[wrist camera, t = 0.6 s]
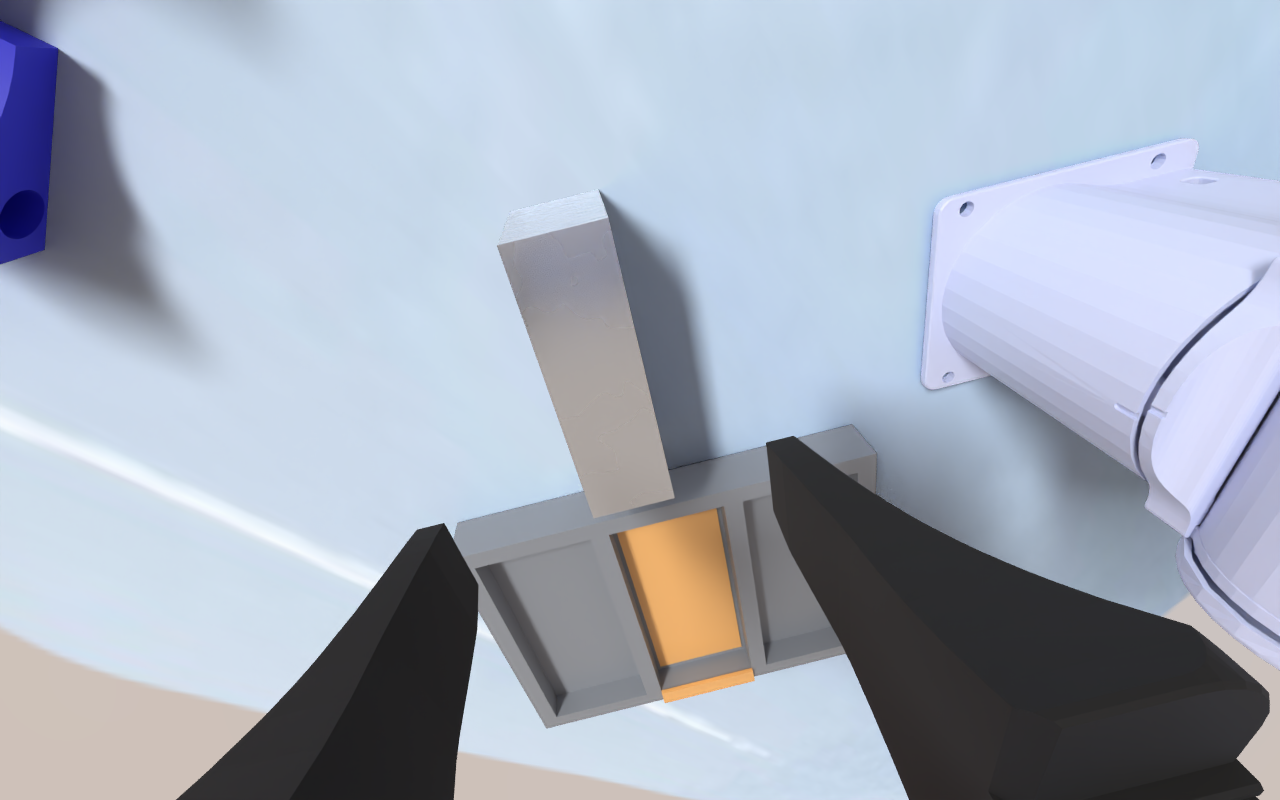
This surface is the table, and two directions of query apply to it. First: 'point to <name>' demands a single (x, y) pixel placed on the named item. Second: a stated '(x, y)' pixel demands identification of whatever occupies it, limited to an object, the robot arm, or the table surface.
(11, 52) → the blue arch block
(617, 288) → the light grey rectangular block
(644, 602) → the bay rack
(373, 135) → the table surface
